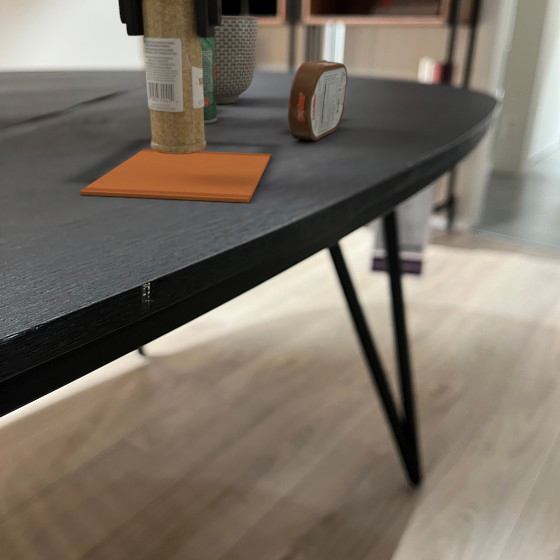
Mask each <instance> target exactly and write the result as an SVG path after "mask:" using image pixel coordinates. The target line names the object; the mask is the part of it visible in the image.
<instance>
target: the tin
mask: <svg viewBox="0 0 560 560" xmlns="http://www.w3.org/2000/svg"><path fill="white" fill-rule="evenodd" d="M347 70H348V69H347V67H346V65H345V64H344V63H341V62H338V61H329V60H326V59H322V60H312V61H304V62H302V63H301V64H300V65H299V67H298V68H297V70H296V72H295V74H294V77H293V79H292V83H291V87H290V92H289V96H288V97H289V99H288V107H287V121H288V122H287V123H288V129H289V133H290V135H291V137H292V138H293V139H294V140H305V141H311V142H312V141H318V140H320V139H321V138H322V139H323V137H325V136H327V135H330V134H331V133H333V132H335V131H336V130H337V129H338V127H339V126H340V123H341V122H342V118H343V114H344V112H345V111H344V109H345V98H346V92H347V87H348V86H347V85H348V79H349V78H348V71H347Z"/></svg>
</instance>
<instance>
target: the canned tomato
mask: <svg viewBox="0 0 560 560" xmlns="http://www.w3.org/2000/svg"><path fill="white" fill-rule="evenodd" d="M200 46H201V50H202V71H203V94H204V107H203V111H204V125H207V124H212V123H216V122H217V120H218V117H217V116H218V115H217V104H216V78H215V75H216V73H215V43H214V37H211V38H201V37H200Z"/></svg>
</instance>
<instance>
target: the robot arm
mask: <svg viewBox="0 0 560 560" xmlns="http://www.w3.org/2000/svg"><path fill="white" fill-rule="evenodd" d="M117 2H118V12H119V19H120V23H121V24H124V25H125V30H126V34H127V36H128V37H140V36H142V37H144V28H143V15H142V0H117ZM196 11H197V34H198V36H200V37H201V38H211V37H214V36H215V26H221V23H222V16H223V13H222V12H223V11H222V0H196Z"/></svg>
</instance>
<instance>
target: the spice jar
mask: <svg viewBox="0 0 560 560" xmlns="http://www.w3.org/2000/svg"><path fill="white" fill-rule="evenodd" d="M142 15H143V28H144V36H142V37H143V54H144V67H145V81H146V92H147V93H146V94H147V95H146V96H147V106H148V109H149V118H150V119H149V120H150V133H151V141H150V148H151V149H153V150H154V151H156V152H159V153H164V154H192V153H197V152H199V151H204V150H205V149H206V147H207V141H206V135H205V124H204V111H203V107H204V94H203V71H202V50H201V46H200V36H198V34H197V11H196V0H142Z"/></svg>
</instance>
